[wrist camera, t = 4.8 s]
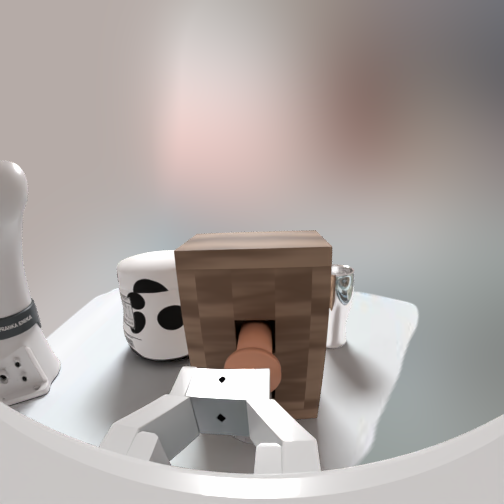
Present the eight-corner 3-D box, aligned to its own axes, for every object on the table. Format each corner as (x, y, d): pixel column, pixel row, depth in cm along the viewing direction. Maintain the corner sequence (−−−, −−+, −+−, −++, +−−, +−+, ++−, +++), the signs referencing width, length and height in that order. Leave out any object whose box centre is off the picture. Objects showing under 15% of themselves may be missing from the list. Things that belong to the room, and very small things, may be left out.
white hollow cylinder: (315, 331, 57) (318, 263, 53) (347, 332, 55) (354, 264, 51) (312, 348, 50) (316, 274, 47) (348, 350, 48) (356, 276, 45)
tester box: (316, 417, 33) (332, 246, 27) (201, 417, 34) (173, 251, 28) (309, 375, 42) (315, 230, 37) (213, 376, 43) (197, 233, 38)
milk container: (218, 326, 61) (211, 248, 57) (199, 373, 44) (185, 275, 40) (148, 322, 63) (137, 249, 58) (115, 362, 46) (92, 273, 42)
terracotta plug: (280, 396, 24) (281, 352, 22) (225, 396, 24) (220, 353, 23) (278, 349, 32) (278, 310, 31) (234, 349, 32) (231, 310, 31)
